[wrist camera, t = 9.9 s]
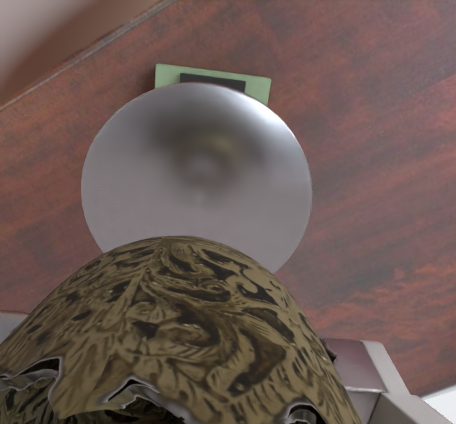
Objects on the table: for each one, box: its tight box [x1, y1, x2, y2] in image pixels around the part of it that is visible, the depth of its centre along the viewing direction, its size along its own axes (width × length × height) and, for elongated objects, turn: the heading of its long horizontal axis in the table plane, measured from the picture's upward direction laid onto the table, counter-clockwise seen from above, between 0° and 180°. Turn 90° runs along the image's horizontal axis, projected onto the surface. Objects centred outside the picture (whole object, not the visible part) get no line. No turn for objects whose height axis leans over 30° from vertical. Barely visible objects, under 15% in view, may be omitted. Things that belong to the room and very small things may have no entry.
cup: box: [0, 236, 363, 424], centre depth 8 cm, size 8×7×8 cm
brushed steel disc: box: [81, 82, 313, 274], centre depth 19 cm, size 11×11×2 cm
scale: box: [155, 63, 271, 106], centre depth 28 cm, size 10×10×18 cm
